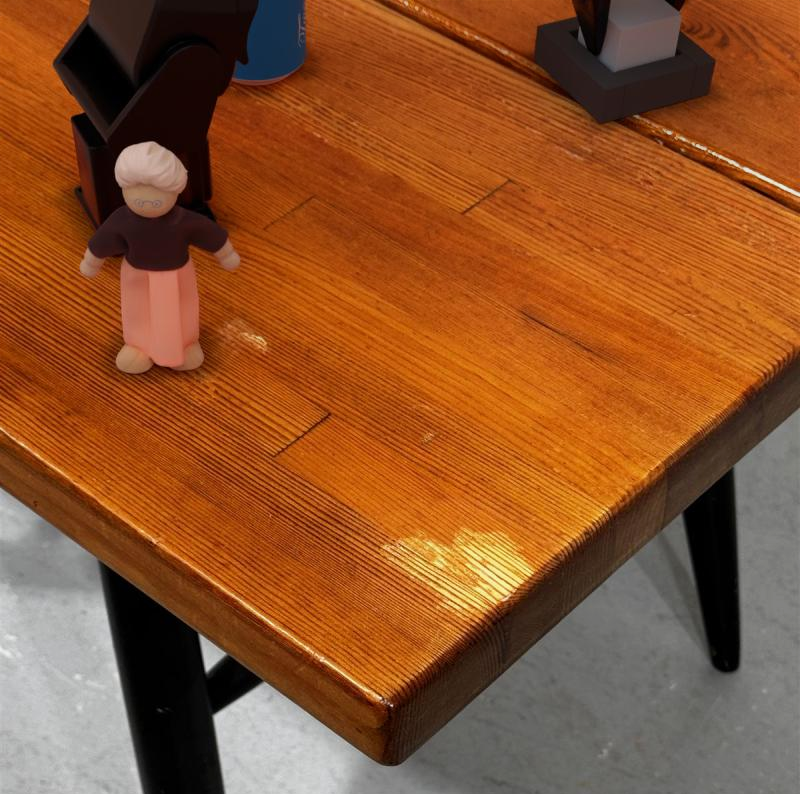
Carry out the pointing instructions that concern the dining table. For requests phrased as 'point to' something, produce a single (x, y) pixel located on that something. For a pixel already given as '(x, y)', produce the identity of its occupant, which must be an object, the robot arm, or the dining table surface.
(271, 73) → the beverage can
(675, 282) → the dining table surface
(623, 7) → the light grey cube
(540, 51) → the dark grey square frame
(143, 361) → the grandmother figurine
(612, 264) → the dining table surface
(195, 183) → the robot arm
